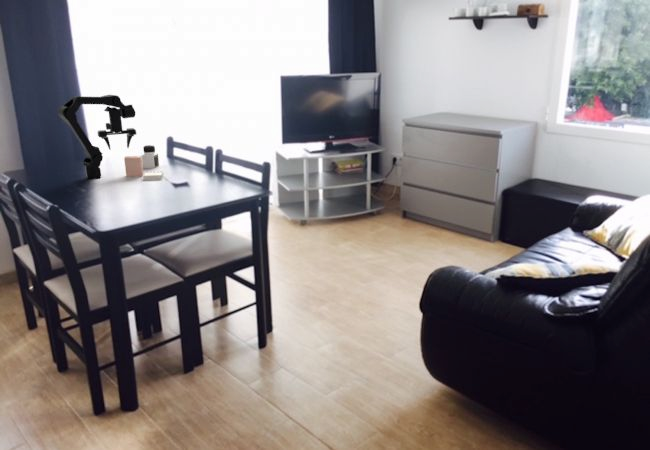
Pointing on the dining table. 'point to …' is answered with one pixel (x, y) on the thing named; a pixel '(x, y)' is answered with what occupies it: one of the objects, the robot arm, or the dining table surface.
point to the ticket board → (153, 175)
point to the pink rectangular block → (133, 166)
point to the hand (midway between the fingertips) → (119, 148)
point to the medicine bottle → (150, 157)
